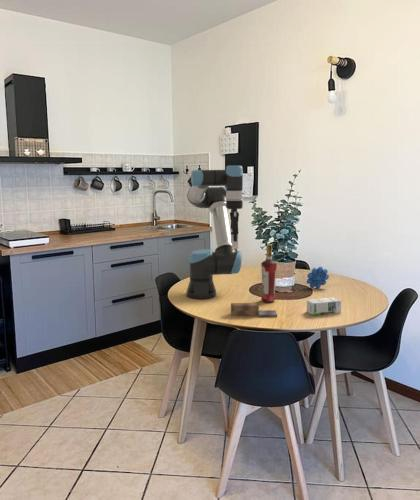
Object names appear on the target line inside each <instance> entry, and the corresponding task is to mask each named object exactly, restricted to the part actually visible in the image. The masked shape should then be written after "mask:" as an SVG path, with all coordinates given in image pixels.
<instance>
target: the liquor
mask: <svg viewBox="0 0 420 500" xmlns="http://www.w3.org/2000/svg"><path fill="white" fill-rule="evenodd" d="M265 249H266V256H265V260H264V261H262V262H261V265H260V266H261V290H262V292H261V293H262V295H261V300H262V301H263V302H264V303H267V304H268V303H273V302H274V301H275V300H276V297H275V295H276V278H277V267H278V266H277V262H276V261H275V260H273V256H272V255H273V254H272V253H273V244H272V243H271V244H270V243H268V244H266V248H265Z"/></svg>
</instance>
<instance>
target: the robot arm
mask: <svg viewBox="0 0 420 500" xmlns="http://www.w3.org/2000/svg"><path fill="white" fill-rule="evenodd" d="M243 170H244V169H243V166H242V165H226V168H225V169H194V170H192V171H191V172H190V173H191V175H190V182H191V186H190V188H189V189H188V190H187V193H186V197H187V200H188V202H189V203H190V205H192V206H194V207H196V208H200V209H208V210H209V212H210V213H211V214H212V218H213V219H212V221H213V225H214V226H213V227H214V233H215V241H216V248H215V249H214V251H213V249H212V248H201V249H196V250H193V251H192V252H190V254H189V261H188V262H189V282H188V286H187V288H186V296H187V297H188V298H190V299H195V300H209V299H212V298H215V297H216V296H217V290H216V289H217V288H216V286H215V283H214V280H213V279H214V277H213V276H215V275H216V276H218V275H236V274H239V273H240V272H241V269H242V261H243V260H242V259H243V257H242V252H241V251H240V250H238V249H239V218H240V217H239V216H240V214H239V211H238V210H241V209H243V208H244V207H243V203H244V202H243V195H245V192H244V191H243V190H244V189H243V188H244V187H243V185H244V184H243V181H244V177H243V176H244V171H243ZM229 210H230V212H229Z"/></svg>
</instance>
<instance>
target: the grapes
mask: <svg viewBox="0 0 420 500" xmlns="http://www.w3.org/2000/svg"><path fill="white" fill-rule="evenodd" d="M328 272H329V271H328V269H326V268H325V269H324V267H322V266H319V267H317V268H315V267H313V268H312V269H311V272H309V273H308V274H307V276H306V277H307V279H306V284H308V285H309V287H310V288H311V289H313V288H315V289H320V288H321V286H325V285H326V284H327V280H329V278H330V277H329V276H330V275H329V274H328Z"/></svg>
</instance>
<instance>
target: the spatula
mask: <svg viewBox="0 0 420 500" xmlns="http://www.w3.org/2000/svg"><path fill="white" fill-rule="evenodd" d="M230 317H258V318H277V317H278V313H277V310H276V309H274V310H273V309H272V310H270V309H269V310H268V309H265V310H264V309H263V310H262V309H261V310H259V303H258V302H238V303H237V302H234V303H233V302H231V303H230Z"/></svg>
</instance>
